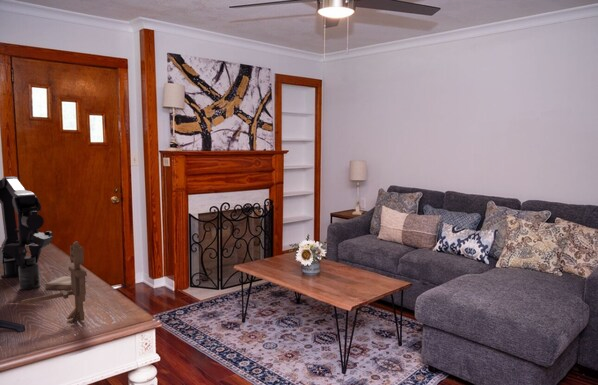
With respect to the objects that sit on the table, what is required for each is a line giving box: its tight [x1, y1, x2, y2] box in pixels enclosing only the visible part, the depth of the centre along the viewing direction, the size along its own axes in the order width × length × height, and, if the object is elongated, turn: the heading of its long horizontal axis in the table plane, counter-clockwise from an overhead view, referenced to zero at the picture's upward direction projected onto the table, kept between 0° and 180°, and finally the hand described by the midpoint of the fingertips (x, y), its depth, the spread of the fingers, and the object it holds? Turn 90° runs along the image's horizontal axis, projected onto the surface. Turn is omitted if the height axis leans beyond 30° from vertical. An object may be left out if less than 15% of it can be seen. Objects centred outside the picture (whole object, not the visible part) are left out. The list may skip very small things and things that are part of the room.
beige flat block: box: [44, 275, 72, 291], centre depth 172 cm, size 10×10×3 cm
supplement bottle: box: [18, 255, 41, 291], centre depth 168 cm, size 7×7×12 cm
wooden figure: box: [21, 240, 88, 328], centre depth 133 cm, size 14×18×25 cm
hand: (29, 266), depth 168 cm, fingers closed on supplement bottle, 6 cm apart
